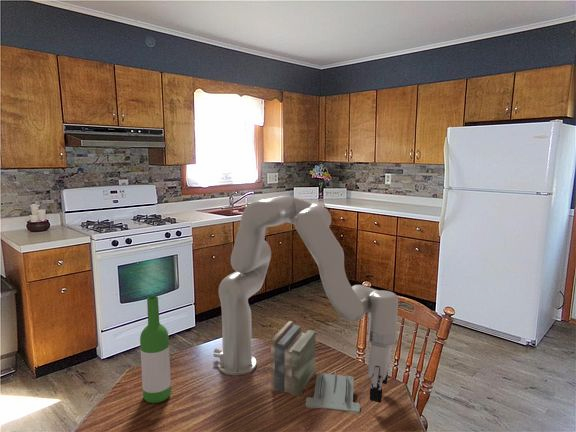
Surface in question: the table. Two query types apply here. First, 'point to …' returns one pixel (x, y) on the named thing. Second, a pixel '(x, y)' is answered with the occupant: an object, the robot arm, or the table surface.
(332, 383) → the metal bracket
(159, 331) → the wine bottle
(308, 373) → the book row
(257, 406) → the table surface
